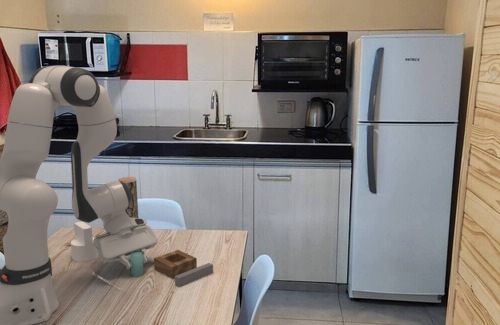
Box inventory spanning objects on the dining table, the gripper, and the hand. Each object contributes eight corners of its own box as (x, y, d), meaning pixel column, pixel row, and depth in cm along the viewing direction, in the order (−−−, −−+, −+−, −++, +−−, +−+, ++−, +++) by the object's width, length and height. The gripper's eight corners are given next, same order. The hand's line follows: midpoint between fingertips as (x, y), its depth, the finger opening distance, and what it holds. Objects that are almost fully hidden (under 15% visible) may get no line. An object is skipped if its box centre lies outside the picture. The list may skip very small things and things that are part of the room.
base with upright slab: (68, 256, 170) (65, 224, 167) (92, 249, 176) (89, 219, 173) (77, 264, 163) (75, 231, 161) (102, 257, 169) (100, 225, 167)
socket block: (172, 278, 150) (172, 267, 149) (154, 269, 156) (153, 258, 156) (196, 269, 157) (196, 258, 156) (178, 260, 163) (178, 249, 163)
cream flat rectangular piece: (179, 290, 144) (178, 278, 143) (142, 270, 158) (142, 259, 157) (213, 275, 154) (213, 264, 153) (176, 258, 168) (175, 248, 167)
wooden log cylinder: (134, 244, 181) (131, 181, 176) (118, 243, 182) (114, 180, 177) (142, 238, 187) (139, 177, 182) (126, 236, 189) (123, 176, 183)
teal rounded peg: (135, 281, 150) (134, 257, 149) (128, 277, 153) (127, 254, 151) (146, 277, 153) (144, 254, 151) (139, 273, 156) (138, 250, 154)
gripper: (94, 232, 147) (111, 270, 142) (149, 217, 161) (167, 251, 157) (88, 242, 151) (105, 279, 146) (142, 226, 165) (159, 260, 161)
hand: (137, 265), depth 152 cm, fingers closed on teal rounded peg, 4 cm apart
